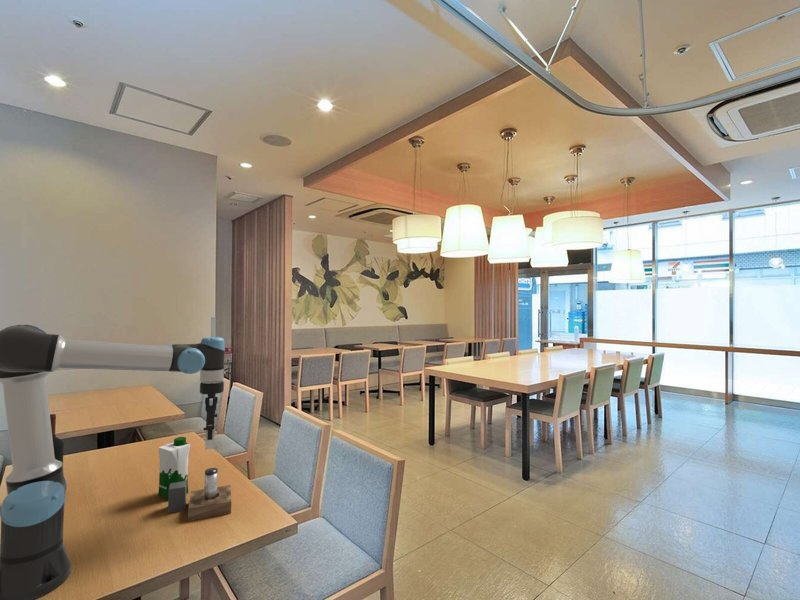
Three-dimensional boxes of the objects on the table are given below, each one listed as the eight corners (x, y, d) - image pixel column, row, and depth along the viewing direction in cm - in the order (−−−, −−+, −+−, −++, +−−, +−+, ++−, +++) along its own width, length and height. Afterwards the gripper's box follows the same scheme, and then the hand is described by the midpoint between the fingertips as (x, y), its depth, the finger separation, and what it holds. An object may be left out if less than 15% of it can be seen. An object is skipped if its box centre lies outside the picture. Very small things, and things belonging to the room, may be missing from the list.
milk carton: (192, 491, 148) (193, 438, 148) (168, 502, 140) (169, 446, 140) (177, 486, 152) (178, 434, 153) (153, 496, 144) (155, 441, 144)
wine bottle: (45, 505, 137) (47, 418, 137) (27, 502, 138) (30, 417, 139) (67, 495, 144) (70, 413, 144) (51, 492, 146) (53, 411, 146)
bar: (184, 510, 135) (185, 486, 135) (167, 513, 133) (168, 489, 133) (185, 503, 140) (186, 480, 140) (169, 506, 138) (170, 483, 138)
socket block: (231, 512, 134) (231, 501, 134) (187, 520, 128) (188, 508, 128) (230, 495, 146) (230, 484, 146) (190, 502, 140) (190, 491, 140)
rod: (216, 509, 136) (217, 471, 136) (203, 511, 134) (204, 473, 135) (216, 503, 140) (217, 467, 140) (204, 506, 138) (205, 468, 138)
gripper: (223, 387, 128) (221, 453, 127) (223, 374, 151) (222, 430, 150) (197, 389, 125) (195, 456, 124) (201, 375, 147) (200, 432, 147)
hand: (210, 442), depth 137 cm, fingers open, 13 cm apart
